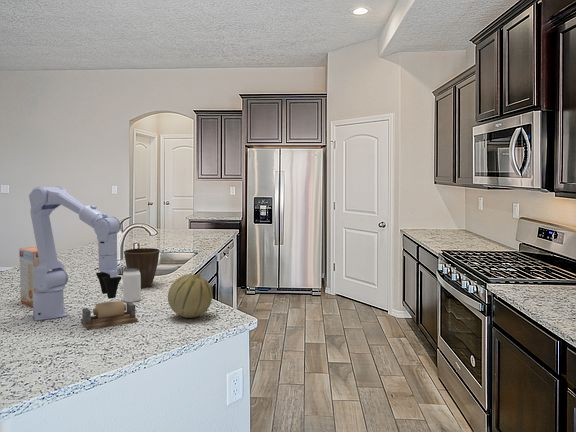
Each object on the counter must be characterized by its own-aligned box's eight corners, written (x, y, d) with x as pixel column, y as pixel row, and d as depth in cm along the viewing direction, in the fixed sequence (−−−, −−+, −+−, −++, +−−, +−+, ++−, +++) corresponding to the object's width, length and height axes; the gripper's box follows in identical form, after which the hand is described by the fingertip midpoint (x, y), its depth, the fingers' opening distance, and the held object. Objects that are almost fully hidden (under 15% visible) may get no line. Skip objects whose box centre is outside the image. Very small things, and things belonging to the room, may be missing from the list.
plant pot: (160, 289, 207) (160, 252, 206) (123, 291, 203) (123, 253, 202) (159, 282, 221) (159, 247, 220) (125, 284, 217) (124, 248, 216)
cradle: (87, 329, 150) (87, 313, 149) (81, 321, 158) (80, 306, 158) (137, 321, 158) (137, 306, 158) (129, 314, 166) (128, 300, 166)
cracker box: (51, 305, 179) (49, 249, 177) (33, 308, 174) (31, 251, 173) (37, 299, 188) (35, 246, 187) (20, 302, 184) (18, 247, 182)
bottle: (95, 321, 153) (95, 306, 153) (92, 317, 157) (91, 302, 157) (127, 316, 159) (127, 301, 158) (123, 313, 163) (123, 298, 163)
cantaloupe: (165, 313, 168) (164, 271, 167) (206, 309, 174) (206, 268, 173) (172, 325, 154) (171, 279, 153) (217, 320, 160) (217, 275, 159)
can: (134, 297, 191) (134, 267, 191) (144, 300, 187) (143, 269, 186) (120, 300, 186) (119, 270, 186) (129, 303, 182) (128, 272, 181)
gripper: (126, 256, 153) (127, 298, 154) (114, 250, 165) (115, 290, 166) (103, 258, 149) (104, 301, 150) (93, 252, 161) (93, 292, 162)
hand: (108, 295), depth 157 cm, fingers open, 7 cm apart
